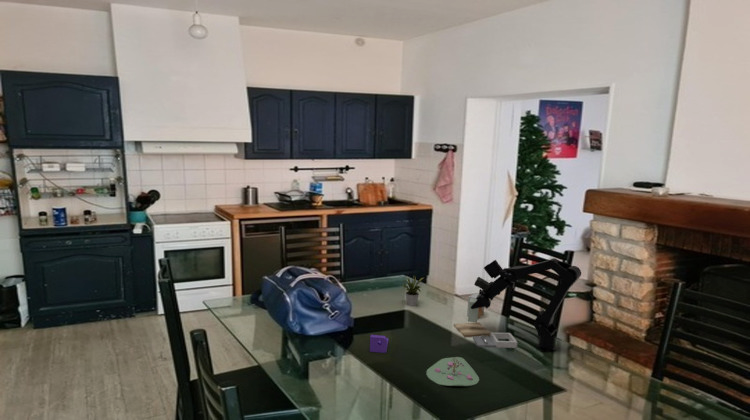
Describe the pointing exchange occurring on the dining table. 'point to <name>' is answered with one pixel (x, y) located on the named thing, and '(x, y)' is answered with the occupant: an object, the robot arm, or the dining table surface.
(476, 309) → the block
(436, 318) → the dining table surface
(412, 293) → the house plant
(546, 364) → the dining table surface
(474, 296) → the small box
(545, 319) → the robot arm
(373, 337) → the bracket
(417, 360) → the dining table surface
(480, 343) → the equipment case
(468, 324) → the oak pad
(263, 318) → the dining table surface
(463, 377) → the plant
